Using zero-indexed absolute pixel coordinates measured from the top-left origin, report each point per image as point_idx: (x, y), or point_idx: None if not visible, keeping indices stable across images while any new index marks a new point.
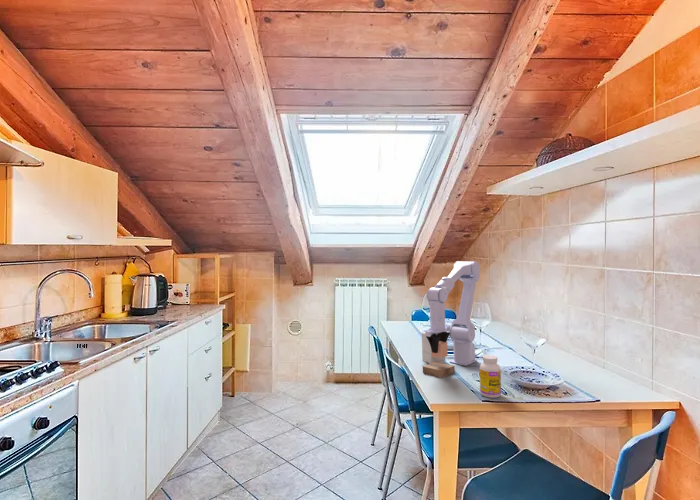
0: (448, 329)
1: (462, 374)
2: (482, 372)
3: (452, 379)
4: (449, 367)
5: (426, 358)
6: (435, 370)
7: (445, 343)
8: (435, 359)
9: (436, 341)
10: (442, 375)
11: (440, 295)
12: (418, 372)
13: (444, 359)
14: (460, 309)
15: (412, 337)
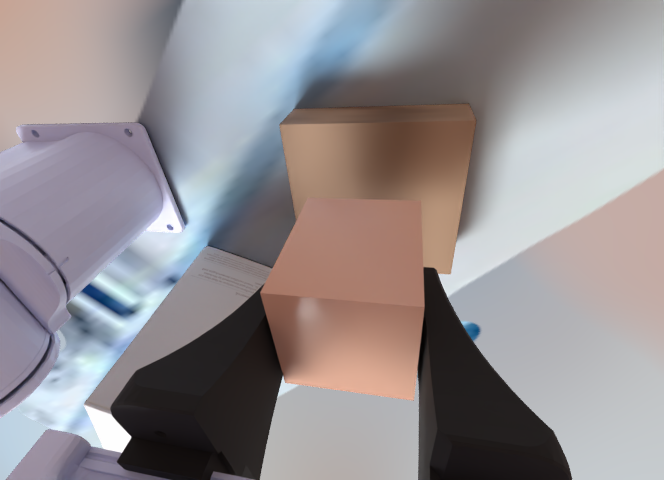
0: (61, 461)
1: (292, 27)
2: None
3: (459, 8)
4: (346, 128)
5: None
6: (465, 177)
7: (308, 292)
8: (260, 283)
9: (505, 385)
10: (464, 108)
11: None
12: (459, 264)
13: (203, 256)
14: None
15: None
